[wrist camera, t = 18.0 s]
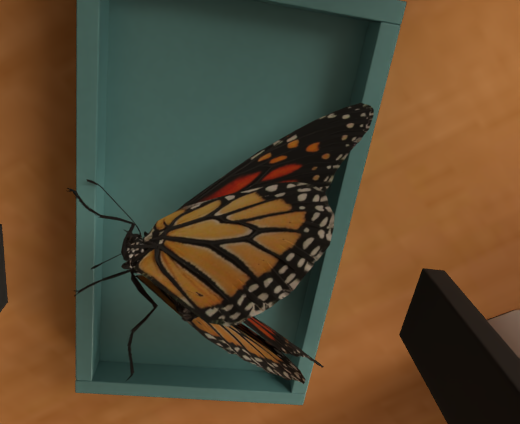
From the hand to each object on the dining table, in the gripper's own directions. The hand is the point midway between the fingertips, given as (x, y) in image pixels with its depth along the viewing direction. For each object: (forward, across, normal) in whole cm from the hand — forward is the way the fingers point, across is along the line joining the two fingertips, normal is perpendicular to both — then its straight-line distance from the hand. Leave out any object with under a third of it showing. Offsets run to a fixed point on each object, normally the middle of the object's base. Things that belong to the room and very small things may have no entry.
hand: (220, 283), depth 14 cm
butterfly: (0, -4, -1) cm, 4 cm away
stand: (+8, 0, -1) cm, 8 cm away
